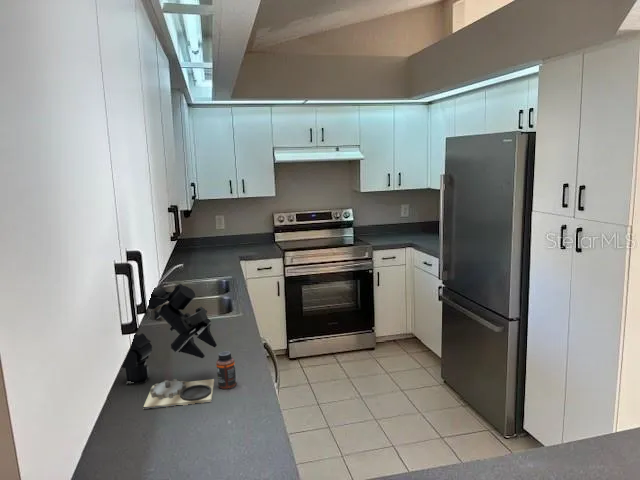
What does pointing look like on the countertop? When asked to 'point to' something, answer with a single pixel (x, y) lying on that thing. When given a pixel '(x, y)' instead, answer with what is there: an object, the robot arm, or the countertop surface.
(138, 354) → the robot arm
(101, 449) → the countertop surface
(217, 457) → the countertop surface
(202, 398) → the gear board
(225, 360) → the supplement bottle
